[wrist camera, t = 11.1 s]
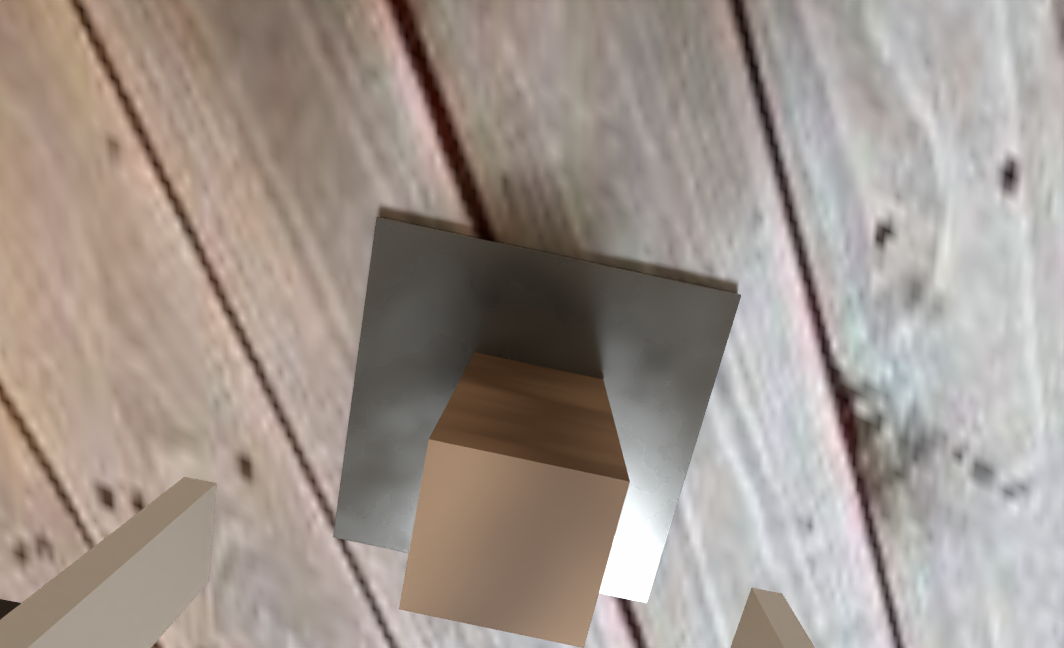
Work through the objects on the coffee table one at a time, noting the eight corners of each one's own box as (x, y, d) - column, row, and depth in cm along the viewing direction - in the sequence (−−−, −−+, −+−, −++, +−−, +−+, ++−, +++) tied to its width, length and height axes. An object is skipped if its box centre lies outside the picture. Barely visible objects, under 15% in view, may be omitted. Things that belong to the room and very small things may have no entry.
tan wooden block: (452, 468, 22) (399, 609, 15) (474, 352, 21) (428, 439, 13) (574, 494, 22) (583, 647, 15) (603, 379, 21) (630, 481, 14)
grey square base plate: (337, 531, 24) (258, 650, 17) (380, 216, 20) (303, 225, 14) (645, 596, 24) (676, 738, 18) (737, 293, 20) (817, 334, 14)
